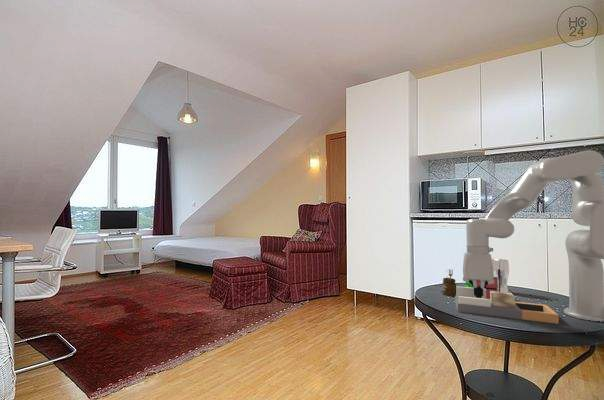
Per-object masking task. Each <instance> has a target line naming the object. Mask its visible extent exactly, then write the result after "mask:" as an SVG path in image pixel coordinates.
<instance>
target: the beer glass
mask: <svg viewBox="0 0 604 400" xmlns="http://www.w3.org/2000/svg"><path fill="white" fill-rule="evenodd" d="M492 263H493V272H494V276H495V277H497V278H498V288H497V289H498V292H507V293H509V291H508V290H509V289H508V280H509V276H510V275H509V273H510V265H509V260H508V259H503V258H492Z"/></svg>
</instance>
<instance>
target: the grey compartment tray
mask: <svg viewBox="0 0 604 400" xmlns="http://www.w3.org/2000/svg"><path fill="white" fill-rule="evenodd" d="M454 304H455V307H456V311H457V312H458V313H467V314H474V315H480V316H481V315H482V316H490V317H498V318H499V317H500V318H506V319H507V318H509V319H515V320H524V321H533V322H541V323H549V324H550V323H551V324H557V325H558V324H560V323H559V322H560V321H559V320H560V318H559V316H560V315H559V313H557V312H556V311H554V310H553V308H551V307H550V306H548V305H547V304H542V303H529V302H522V301H515V308H511V307H502V306H493V305H492V303H491V300H490V299H486V289H483V296H481V298H476V296H474V288H471V287H466V286H458V285H456V295H455V296H454Z"/></svg>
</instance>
